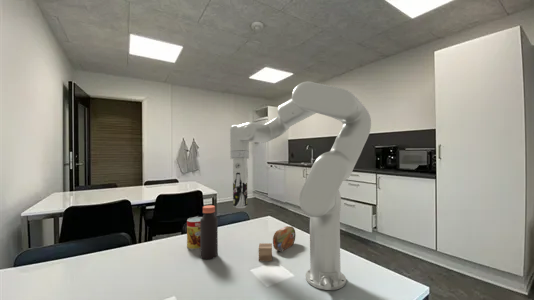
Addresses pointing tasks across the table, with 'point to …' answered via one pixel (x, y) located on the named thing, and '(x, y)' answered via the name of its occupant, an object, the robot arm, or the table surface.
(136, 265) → the table surface
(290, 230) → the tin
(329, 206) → the robot arm
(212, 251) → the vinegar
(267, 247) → the tan cube
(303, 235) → the table surface
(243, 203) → the beverage can
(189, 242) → the canned food
